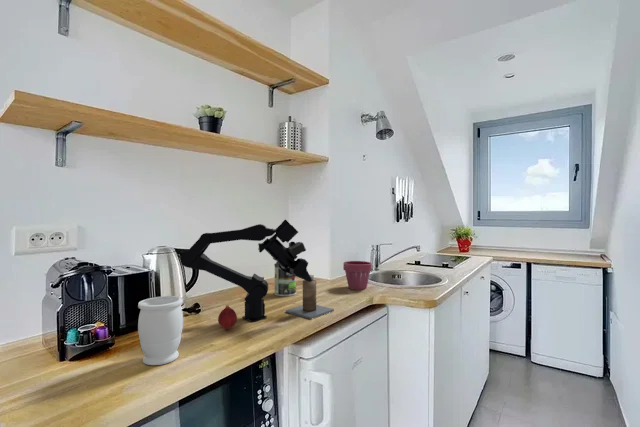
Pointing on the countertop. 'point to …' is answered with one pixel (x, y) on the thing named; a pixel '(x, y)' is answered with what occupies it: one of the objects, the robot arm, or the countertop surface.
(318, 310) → the slate board
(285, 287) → the coffee can
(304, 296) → the pepper mill
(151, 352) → the jar
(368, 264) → the plant pot
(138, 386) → the countertop surface
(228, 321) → the onion
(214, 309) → the countertop surface
